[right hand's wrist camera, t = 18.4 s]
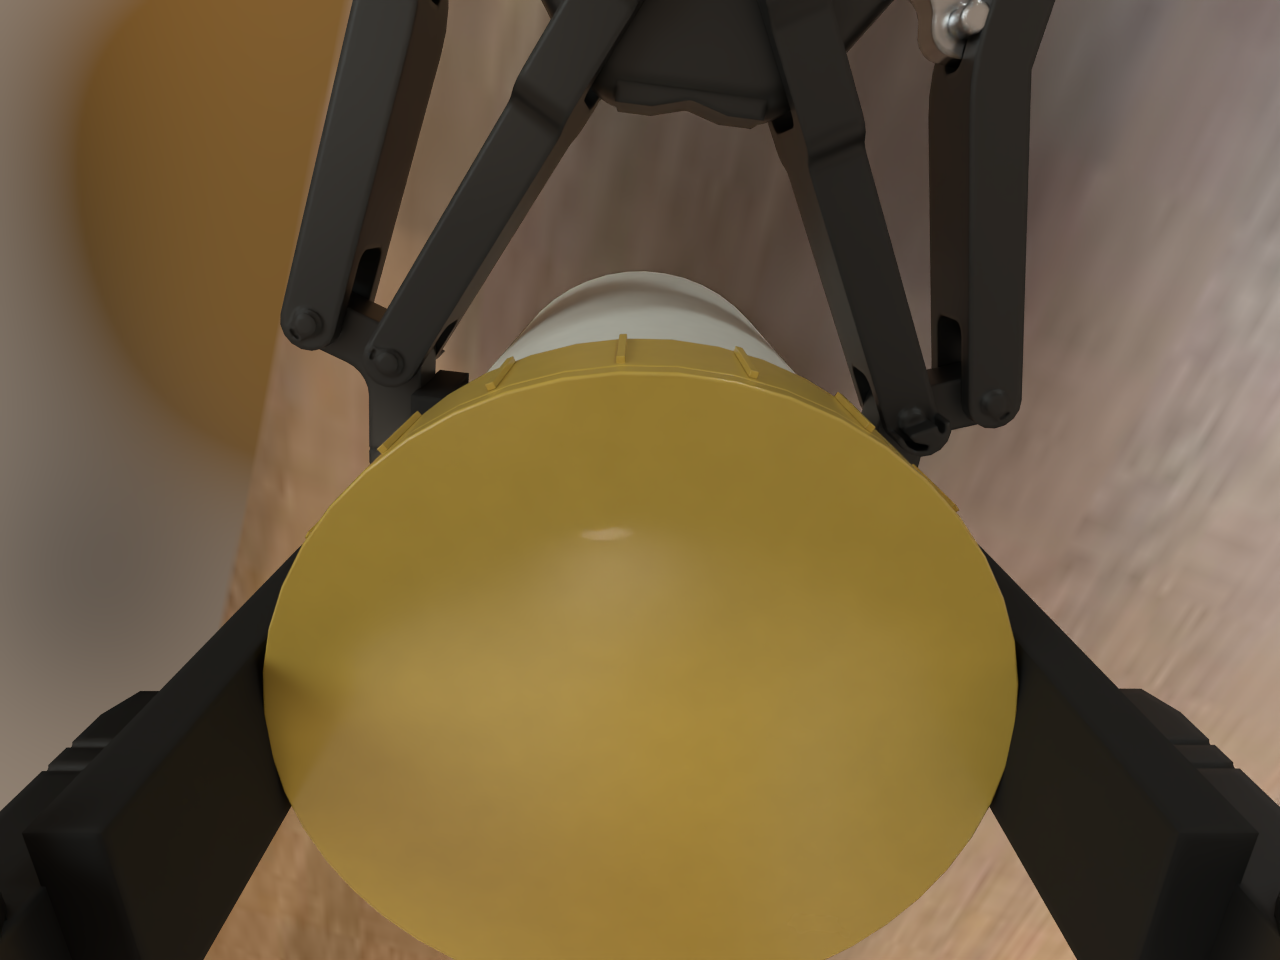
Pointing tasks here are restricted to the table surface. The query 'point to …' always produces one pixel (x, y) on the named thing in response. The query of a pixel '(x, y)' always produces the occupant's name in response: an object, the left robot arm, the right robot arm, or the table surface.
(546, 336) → the jar
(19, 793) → the right robot arm
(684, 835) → the lid
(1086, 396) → the table surface
